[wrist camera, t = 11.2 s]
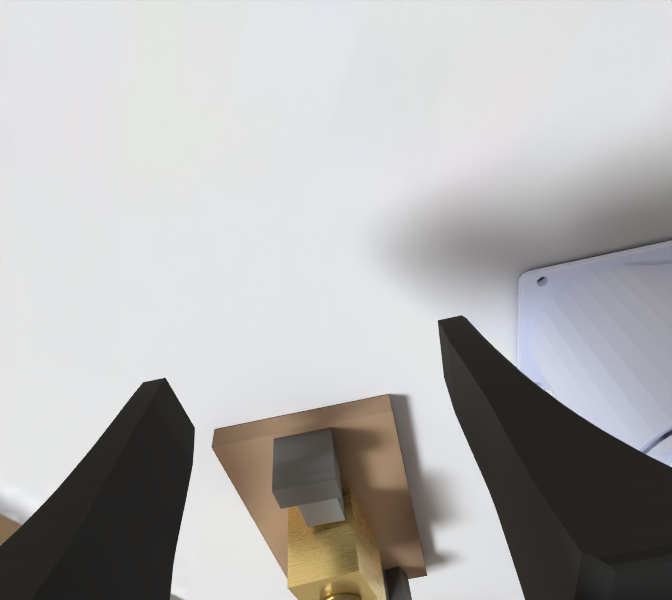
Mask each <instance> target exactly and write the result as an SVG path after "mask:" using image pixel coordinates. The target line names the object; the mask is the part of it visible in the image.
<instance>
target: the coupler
mask: <svg viewBox="0 0 672 600" xmlns="http://www.w3.org/2000/svg"><path fill="white" fill-rule="evenodd" d="M342 492H343V502H344V513H345V520H343V521H337V522H332V523H327V524H321V525H316V526H311V527H307V525H306V523H305V521H304V518H303V516H302V514H301V512H300V510H299V508H298V506H294V507H288V589H289V590H290V591H291V592H292V593H293V595H294V596H295V597H296V598H297V599H298V600H386V594H385V587H384V580H383V573H382V566H381V560H380V553H379V546H378V539H377V533H376V532H375V530H374V528H373V526H372V525H371V523H370V521H369V519H368V517H367V516H366V514H365V512H364V510H363V509H362V507H361V505H360V503H359V501H358V500H357V498H356V496H355V494H354V493H353V491H352V489H351V487H350V486H347V487H343V488H342Z"/></svg>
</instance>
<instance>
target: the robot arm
mask: <svg viewBox="0 0 672 600" xmlns="http://www.w3.org/2000/svg"><path fill="white" fill-rule="evenodd" d="M541 277H544V279H543V280H541V281H538V279H539V278H541ZM438 326H439V335H440V344H441V353H442V362H443V371H444V378H445V382H446V385H447V388H448V392H449V395H450V398H451V401H452V405H453V408H454V411H455V414H456V416H457V418H458V421H459V423H460V425H461V428H462V430H463V432H464V435H465V437H466V439H467V441H468V444H469V446H470V448H471V451H472V453H473V455H474V457H475V460H476V462H477V464H478V466H479V469H480V471H481V473H482V476H483V478H484V480H485V482H486V485H487V487H488V489H489V492H490V494H491V497H492V500H493V502H494V505H495V507H496V510H497V513H498V517H499V520H500V523H501V526H502V529H503V532H504V535H505V538H506V541H507V544H508V547H509V550H510V553H511V556H512V559H513V562H514V566H515V569H516V572H517V575H518V578H519V581H520V584H521V588H522V591H523V594H524V597H525V600H672V240H671V241H666V242H662V243H657V244H652V245H648V246H643V247H638V248H634V249H629V250H624V251H620V252H615V253H610V254H606V255H601V256H596V257H592V258H587V259H582V260H577V261H573V262H568V263H563V264H559V265H554V266H549V267H545V268H540V269H535V270H531V271H527V272H525V273H523V274H522V275H521V276H520V278H519V280H518V329H517V368H516V367H515V366H514V365H513V364H512V363H511V362H510V361H509V360H507V359H506V358H505V357H504V356H503V355H502V354H501V353H500V352H499V351H498V350H496V349H495V348H494V347H493V346H492V345H491V344H490V343H489V342H488V341H487V340H486V339H485V338H484V337H483V336H482V335H481V334H480V333H479V332H478V331H477V329H476V328H475V327H474V326H473V325H472V324H471V323H470V322H469V321H468V320H467V318H465V317H464V316H457V317H452V318H447V319H443V320H438ZM547 389H551V391H552V392H553V394H554V396H555V398H556V399H555V398H554V397H553V396H551V395H550V394H548V393H547V392H546V391H545V390H547ZM194 434H195V427H194V426H193V424H192V422H191V421H190V419H189V417H188V416H187V414H186V412H185V410H184V409H183V407H182V405H181V404H180V402H179V400H178V398H177V397H176V395H175V393H174V392H173V390H172V388H171V387H170V385H169V383H168V381H167V380H166V378H162V379H157V380H153V381H148V382H143V383H142V385H141V386H140V387H139V388H138V389H137V391H136V392H135V393H134V394H133V396H132V397H131V398H130V400H129V401H128V402H127V403H126V405H125V406H124V407H123V409H122V410H121V411H120V413H119V414H118V415H117V417H116V418H115V419H114V420H113V422H112V423H111V424H110V426H109V427H108V428H107V429H106V431H105V432H104V433H103V435H102V436H101V437H100V438H99V440H98V441H97V442H96V444H95V445H94V446H93V447H92V449H91V450H90V451H89V452H88V453H87V455H86V456H85V457H84V458H83V459H82V461H81V462H80V463H79V464H78V465H77V466H76V468H75V469H74V470H73V471H72V472H71V474H70V475H69V476H68V477H67V478H66V480H65V481H64V482H63V483H62V484H61V485H60V486H59V488H58V489H57V490H56V491H55V492H54V493H53V494H52V495H51V496H50V497H49V499H48V500H47V501H46V502H45V503H44V504H43V505H42V506H41V507H40V508H39V509H38V510H37V511H36V512H35V513H34V514H33V515H32V516H31V517H30V518H29V519H28V520H27V521H26V522H25V523H24V524H23V525H22V526H21V527H20V528H19V529H18V530H17V531H16V532H15V533H14V534H13V535H12V536H11V537H10V538H8V539H7V540H6V541H5V542H4V543H3V544H2V545H1V546H0V600H170V592H171V582H172V572H173V563H174V557H175V551H176V545H177V540H178V535H179V531H180V526H181V521H182V516H183V511H184V506H185V501H186V496H187V491H188V486H189V481H190V476H191V470H192V465H193V453H194Z"/></svg>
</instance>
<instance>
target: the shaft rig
mask: <svg viewBox="0 0 672 600" xmlns="http://www.w3.org/2000/svg"><path fill="white" fill-rule="evenodd" d="M212 449H213V450H214V452H215V454H216V456H217V457H218V459H219V461H220V463H221V464H222V466H223V468H224V470H225V471H226V473H227V475H228V477H229V478H230V480H231V482H232V483H233V485H234V487H235V489H236V490H237V492H238V494H239V496H240V497H241V499H242V501H243V503H244V504H245V506H246V508H247V510H248V511H249V513H250V515H251V516H252V518H253V520H254V522H255V523H256V525H257V527H258V529H259V530H260V532H261V534H262V536H263V537H264V539H265V541H266V542H267V544H268V546H269V548H270V549H271V551H272V553H273V555H274V556H275V558H276V560H277V562H278V563H279V565H280V567H281V569H282V570H283V572H284V574H285V575H286V577H287V579H288V507H294V506H298V508H299V510H300V512H301V514H302V516H303V518H304V521H305V523H306V525H307V527H311V526H316V525H321V524H327V523H332V522H337V521H343V520H345V513H344V502H343V492H342V488H343V487H347V486H350V487H351V489H352V491H353V493H354V494H355V496H356V498H357V500H358V501H359V503H360V505H361V507H362V509H363V510H364V512H365V514H366V516H367V517H368V519H369V521H370V523H371V525H372V526H373V528H374V530H375V532H376V533H377V539H378V546H379V553H380V560H381V566H382V573H383V580H384V587H385V594H386V600H412V598H411V593H410V587H409V582H408V579H412V578H417V577H423V576H427V573H426V568H425V563H424V559H423V554H422V549H421V544H420V540H419V535H418V530H417V526H416V521H415V516H414V511H413V507H412V502H411V497H410V492H409V488H408V483H407V478H406V474H405V469H404V464H403V459H402V455H401V450H400V445H399V441H398V436H397V431H396V426H395V422H394V417H393V412H392V408H391V403H390V399H389V394H388V395H383V396H379V397H374V398H369V399H364V400H359V401H354V402H349V403H344V404H339V405H334V406H329V407H324V408H319V409H314V410H309V411H304V412H299V413H295V414H290V415H285V416H280V417H275V418H270V419H265V420H260V421H255V422H250V423H245V424H240V425H235V426H230V427H225V428H220V429H216V430H214V436H213V442H212Z"/></svg>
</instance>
